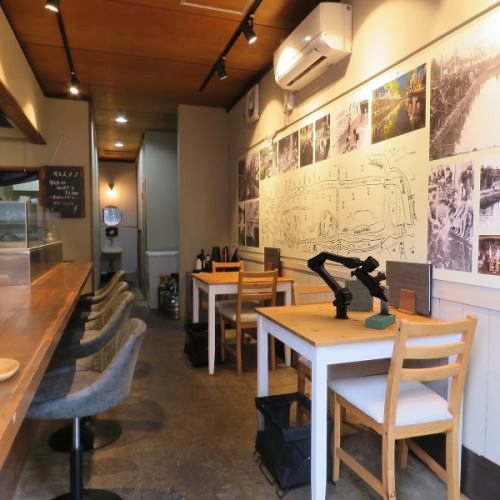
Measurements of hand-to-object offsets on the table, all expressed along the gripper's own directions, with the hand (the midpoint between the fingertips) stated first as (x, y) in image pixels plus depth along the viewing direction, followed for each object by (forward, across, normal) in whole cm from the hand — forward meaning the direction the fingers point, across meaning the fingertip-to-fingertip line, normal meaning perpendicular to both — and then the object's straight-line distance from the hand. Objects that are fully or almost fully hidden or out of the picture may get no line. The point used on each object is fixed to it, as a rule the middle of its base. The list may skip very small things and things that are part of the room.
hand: (387, 300), depth 203 cm
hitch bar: (+6, -5, +10) cm, 12 cm away
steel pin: (+4, 0, +6) cm, 7 cm away
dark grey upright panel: (-2, +28, +18) cm, 33 cm away
